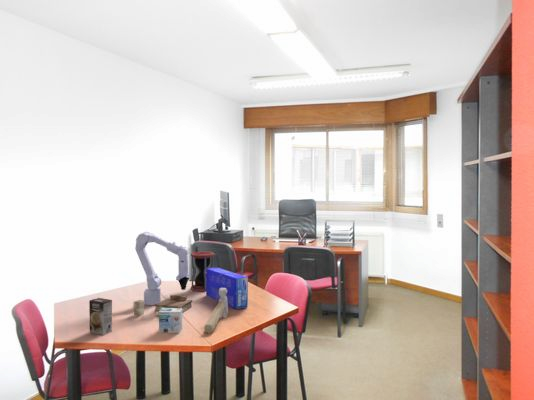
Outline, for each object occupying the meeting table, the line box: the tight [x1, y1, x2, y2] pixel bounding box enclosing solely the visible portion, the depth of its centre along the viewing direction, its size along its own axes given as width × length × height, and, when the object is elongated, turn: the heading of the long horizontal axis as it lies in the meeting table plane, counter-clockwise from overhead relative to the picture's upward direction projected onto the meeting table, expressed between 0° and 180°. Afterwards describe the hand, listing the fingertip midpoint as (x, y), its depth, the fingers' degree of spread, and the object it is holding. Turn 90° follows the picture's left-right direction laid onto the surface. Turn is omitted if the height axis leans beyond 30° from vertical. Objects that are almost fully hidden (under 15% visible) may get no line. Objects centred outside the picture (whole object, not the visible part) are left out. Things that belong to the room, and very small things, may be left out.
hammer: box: [203, 288, 229, 334], centre depth 231 cm, size 16×5×30 cm
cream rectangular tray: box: [154, 301, 193, 317], centre depth 254 cm, size 16×21×3 cm
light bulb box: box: [158, 308, 183, 334], centre depth 220 cm, size 11×7×11 cm, turn 90°
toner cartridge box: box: [205, 267, 249, 310], centre depth 275 cm, size 39×8×18 cm, turn 35°
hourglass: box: [190, 251, 215, 292], centre depth 306 cm, size 16×16×25 cm
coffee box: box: [88, 297, 113, 336], centre depth 218 cm, size 9×6×16 cm
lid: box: [154, 294, 193, 308], centre depth 257 cm, size 17×14×4 cm
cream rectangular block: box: [133, 299, 145, 317], centre depth 246 cm, size 4×4×8 cm
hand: (183, 289), depth 269 cm, fingers closed
